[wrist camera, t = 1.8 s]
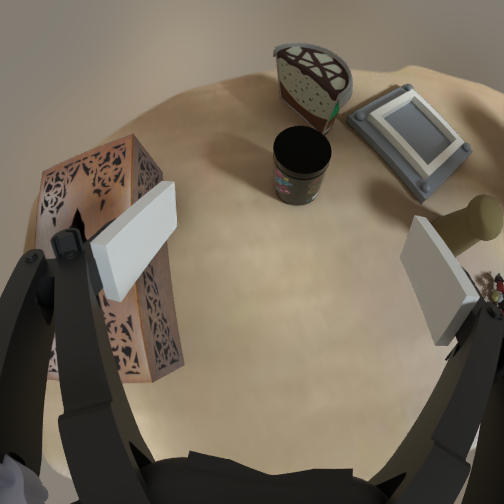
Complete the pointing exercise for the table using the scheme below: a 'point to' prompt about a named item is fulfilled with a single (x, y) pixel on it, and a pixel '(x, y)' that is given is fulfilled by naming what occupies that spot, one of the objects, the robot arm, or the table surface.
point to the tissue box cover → (88, 223)
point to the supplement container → (300, 164)
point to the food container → (313, 82)
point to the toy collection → (500, 287)
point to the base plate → (411, 139)
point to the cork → (470, 224)
